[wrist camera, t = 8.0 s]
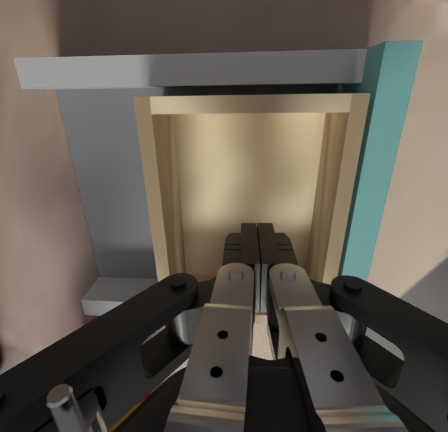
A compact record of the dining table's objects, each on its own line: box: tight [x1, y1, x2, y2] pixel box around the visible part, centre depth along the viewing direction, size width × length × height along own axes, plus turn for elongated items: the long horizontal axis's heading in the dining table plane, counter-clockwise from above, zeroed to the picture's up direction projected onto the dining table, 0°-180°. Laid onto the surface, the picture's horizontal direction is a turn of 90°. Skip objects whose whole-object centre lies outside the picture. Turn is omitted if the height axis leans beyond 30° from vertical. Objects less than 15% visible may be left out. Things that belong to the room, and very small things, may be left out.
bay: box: [13, 40, 423, 316], centre depth 19 cm, size 20×18×6 cm
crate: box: [133, 93, 371, 325], centre depth 18 cm, size 11×14×5 cm
